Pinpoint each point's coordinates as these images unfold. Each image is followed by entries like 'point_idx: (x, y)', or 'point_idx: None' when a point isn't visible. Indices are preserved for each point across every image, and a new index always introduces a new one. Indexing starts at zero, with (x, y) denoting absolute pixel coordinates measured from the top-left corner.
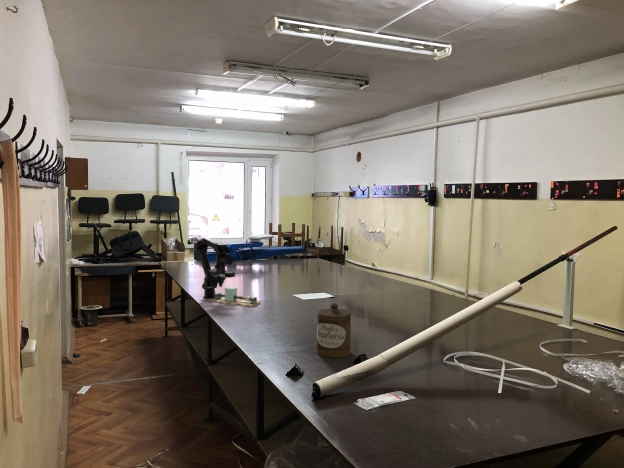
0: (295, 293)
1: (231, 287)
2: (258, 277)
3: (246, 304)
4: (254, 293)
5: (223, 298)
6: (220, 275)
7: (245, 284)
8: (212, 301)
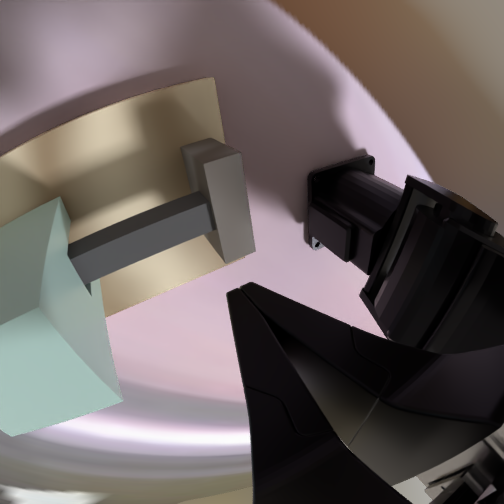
0: (108, 496)
1: (63, 409)
2: None
3: None
4: (204, 435)
5: None
6: (419, 479)
7: None
8: (186, 82)
